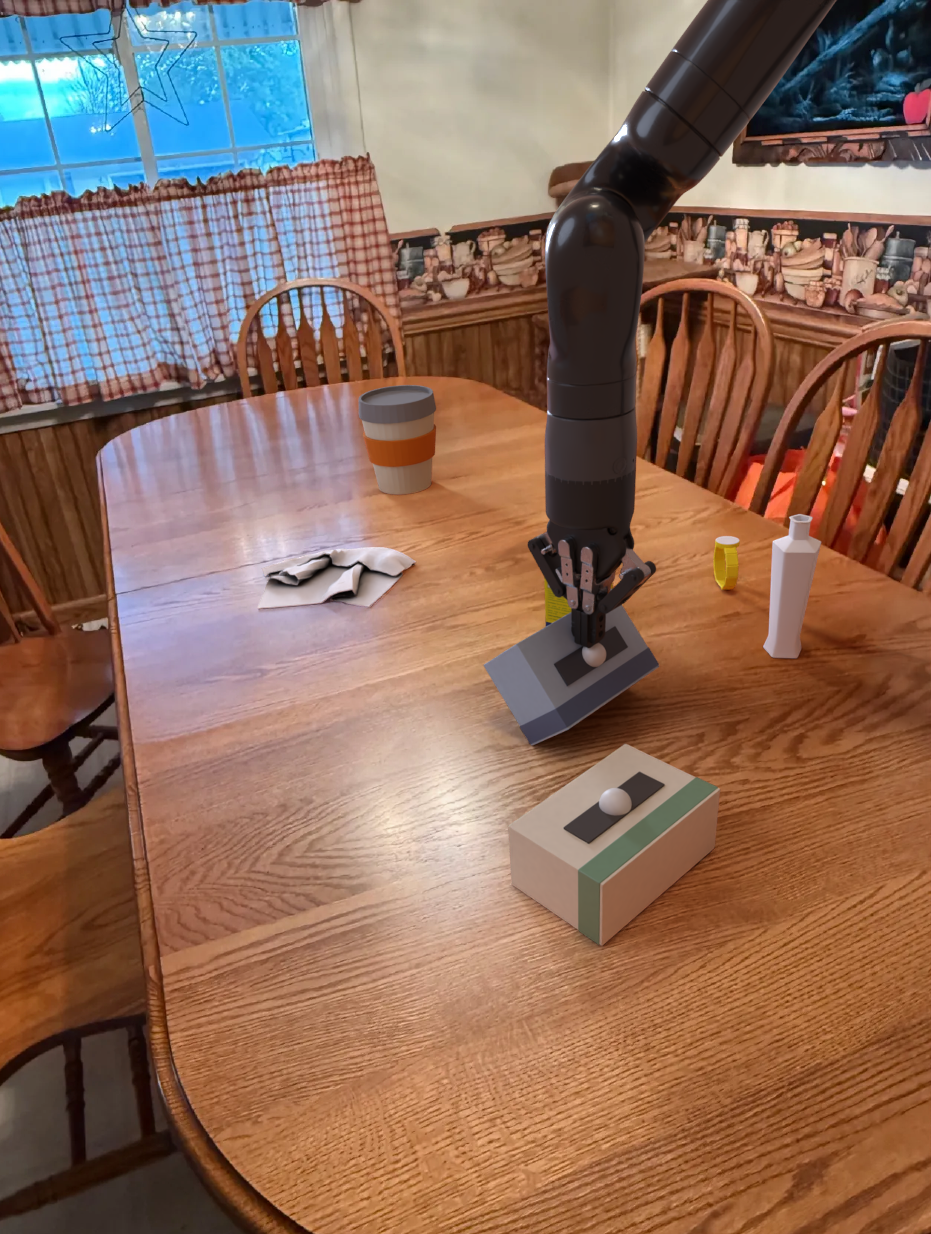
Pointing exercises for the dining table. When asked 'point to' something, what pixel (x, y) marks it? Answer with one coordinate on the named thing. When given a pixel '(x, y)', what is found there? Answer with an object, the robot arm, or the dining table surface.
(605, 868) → the cream tissue box
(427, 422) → the reusable coffee cup
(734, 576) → the watch
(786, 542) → the perfume bottle
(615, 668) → the blue tissue box
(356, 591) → the cloth
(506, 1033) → the dining table surface
